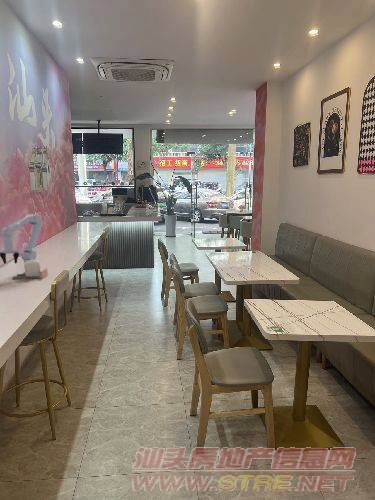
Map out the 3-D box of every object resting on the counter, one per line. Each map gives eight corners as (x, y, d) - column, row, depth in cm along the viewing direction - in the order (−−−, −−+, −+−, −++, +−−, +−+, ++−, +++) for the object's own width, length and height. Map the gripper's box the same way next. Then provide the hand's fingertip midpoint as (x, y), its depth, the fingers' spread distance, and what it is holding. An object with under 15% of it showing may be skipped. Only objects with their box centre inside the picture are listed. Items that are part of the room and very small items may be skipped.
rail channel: (18, 275, 284) (17, 269, 283) (47, 275, 284) (47, 268, 283) (12, 279, 274) (11, 272, 273) (42, 278, 274) (42, 271, 273)
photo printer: (25, 278, 276) (23, 261, 274) (26, 276, 280) (24, 260, 278) (40, 277, 278) (38, 260, 276) (41, 275, 283) (39, 259, 280)
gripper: (-5, 245, 271) (-3, 264, 274) (16, 245, 272) (18, 264, 274) (0, 244, 278) (2, 262, 281) (20, 243, 278) (22, 262, 281)
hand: (10, 263), depth 278 cm, fingers open, 7 cm apart
